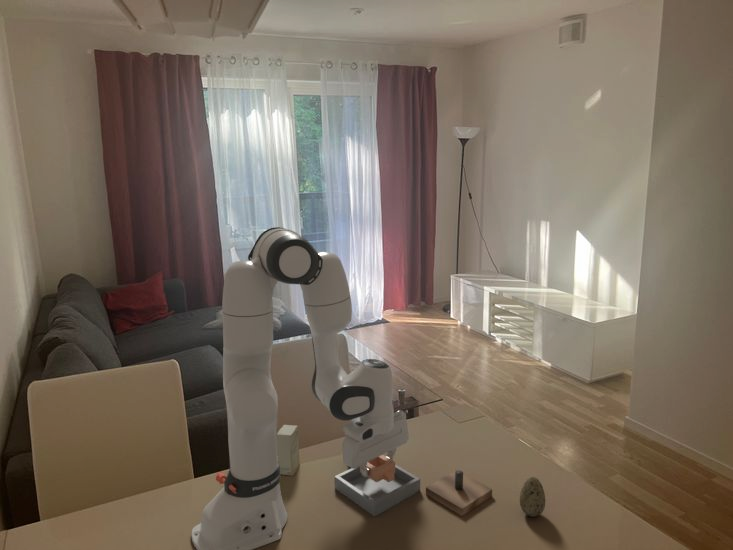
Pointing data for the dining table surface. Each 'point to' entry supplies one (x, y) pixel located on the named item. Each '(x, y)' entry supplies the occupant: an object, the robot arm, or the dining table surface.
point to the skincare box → (288, 449)
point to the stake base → (459, 492)
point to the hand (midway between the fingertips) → (377, 469)
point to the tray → (377, 489)
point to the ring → (381, 469)
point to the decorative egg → (532, 497)
